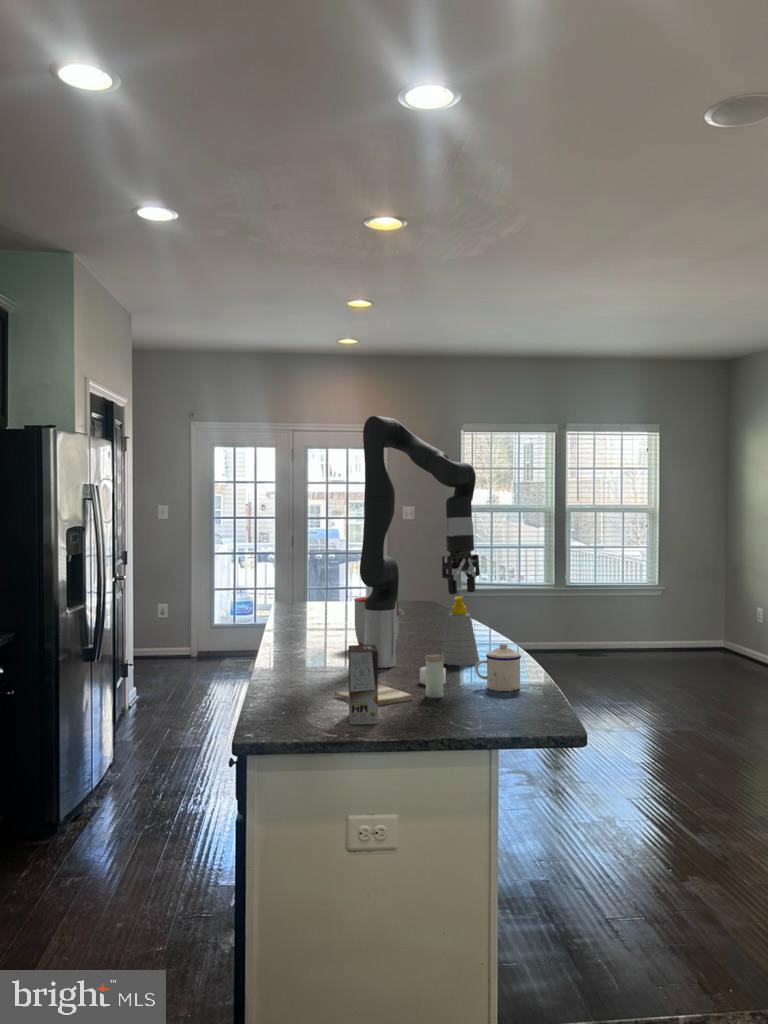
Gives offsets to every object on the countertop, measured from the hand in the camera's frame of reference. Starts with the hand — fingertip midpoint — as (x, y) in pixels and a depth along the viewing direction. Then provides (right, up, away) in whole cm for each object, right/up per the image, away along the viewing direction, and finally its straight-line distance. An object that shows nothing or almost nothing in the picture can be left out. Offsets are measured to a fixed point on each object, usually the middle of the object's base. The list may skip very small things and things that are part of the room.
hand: (462, 593), depth 213 cm
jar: (-9, -24, -17) cm, 31 cm away
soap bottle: (+2, -25, +27) cm, 36 cm away
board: (-24, -24, -20) cm, 39 cm away
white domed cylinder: (-8, -24, -2) cm, 26 cm away
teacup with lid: (+9, -24, -9) cm, 27 cm away
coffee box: (-26, -24, -39) cm, 53 cm away
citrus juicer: (-23, -25, +52) cm, 62 cm away
